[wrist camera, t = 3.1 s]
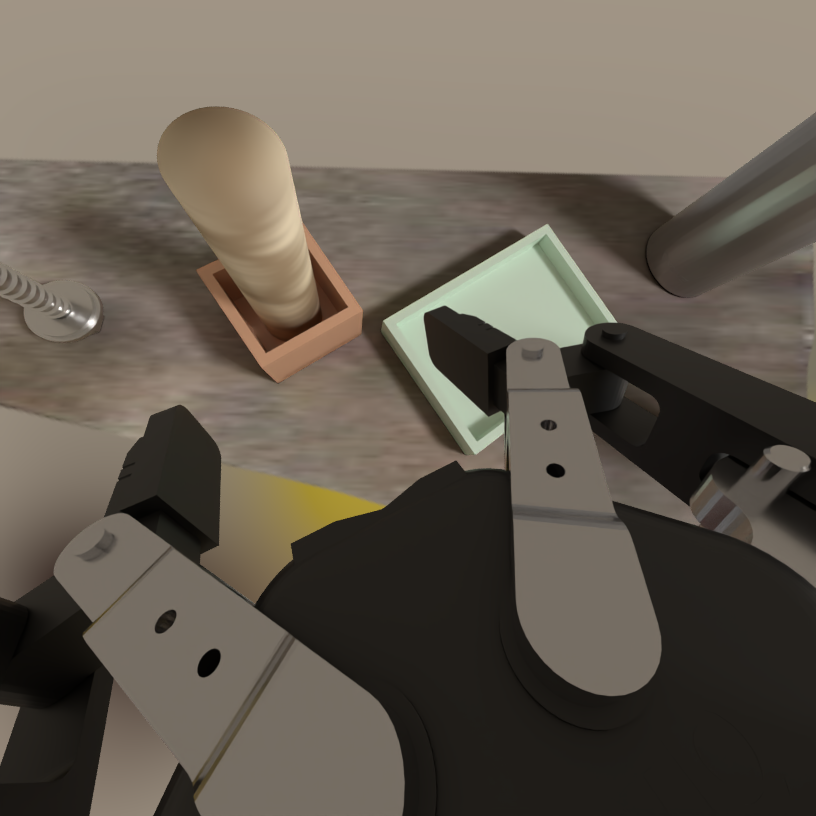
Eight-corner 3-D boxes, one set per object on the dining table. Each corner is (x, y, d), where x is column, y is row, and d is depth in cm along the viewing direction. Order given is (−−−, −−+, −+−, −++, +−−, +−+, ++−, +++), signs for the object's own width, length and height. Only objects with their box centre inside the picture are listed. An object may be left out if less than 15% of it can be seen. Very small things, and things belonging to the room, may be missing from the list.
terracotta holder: (309, 258, 29) (301, 220, 25) (361, 334, 29) (362, 310, 24) (223, 302, 28) (195, 269, 23) (278, 383, 27) (261, 368, 22)
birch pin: (302, 278, 28) (247, 90, 14) (333, 324, 28) (311, 184, 14) (250, 305, 27) (131, 132, 13) (283, 353, 27) (200, 234, 12)
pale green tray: (533, 240, 34) (547, 223, 32) (608, 346, 34) (628, 338, 31) (380, 331, 30) (383, 320, 27) (465, 454, 29) (475, 455, 27)
